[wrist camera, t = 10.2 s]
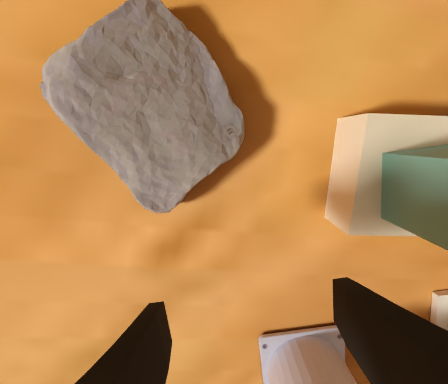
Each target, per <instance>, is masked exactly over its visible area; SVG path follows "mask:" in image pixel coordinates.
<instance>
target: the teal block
mask: <svg viewBox="0 0 448 384" xmlns="http://www.w3.org/2000/svg"><path fill="white" fill-rule="evenodd" d="M381 218H382V219H384V220H386V221H388V222H390V223H392V224H394V225H396V226H398V227H401V228H403V229H405V230H407V231H409V232H411V233H413V234H415V235H417V236H419V237H421V238H423V239H425V240H427V241H429V242H431V243H434V244H436V245H438V246H440V247H442V248H444V249H446V250H448V144H445V145H438V146H430V147H423V148H416V149H409V150H401V151H394V152H387V153H382V192H381Z"/></svg>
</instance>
